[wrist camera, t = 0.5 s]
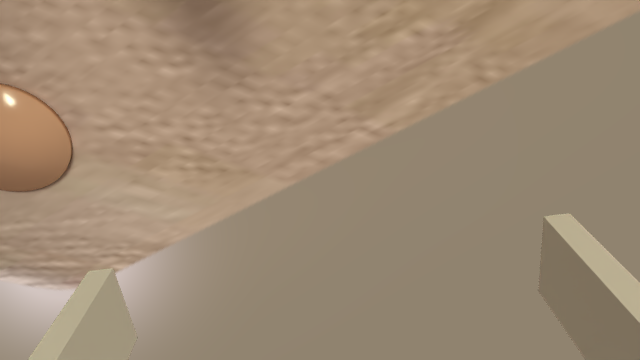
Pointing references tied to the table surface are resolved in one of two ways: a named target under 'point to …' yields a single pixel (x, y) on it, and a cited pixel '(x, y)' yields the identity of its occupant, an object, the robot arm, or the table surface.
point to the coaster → (30, 142)
